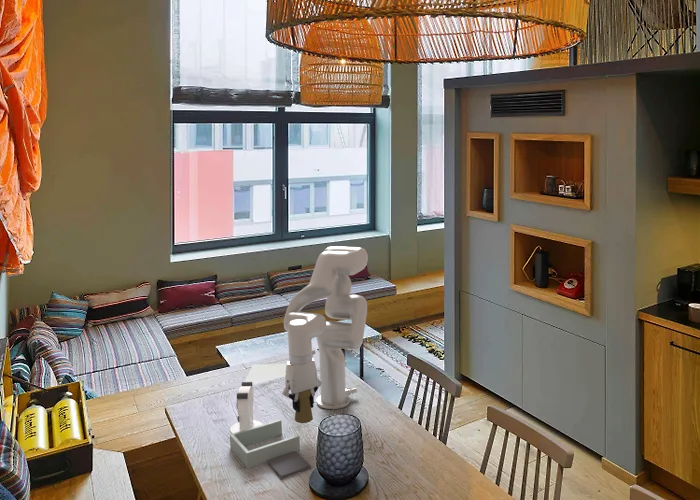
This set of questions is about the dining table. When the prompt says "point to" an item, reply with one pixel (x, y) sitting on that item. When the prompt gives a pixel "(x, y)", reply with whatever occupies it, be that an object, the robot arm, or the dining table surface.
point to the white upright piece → (245, 409)
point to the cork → (304, 408)
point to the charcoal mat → (288, 464)
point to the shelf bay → (263, 452)
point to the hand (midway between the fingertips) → (303, 407)
